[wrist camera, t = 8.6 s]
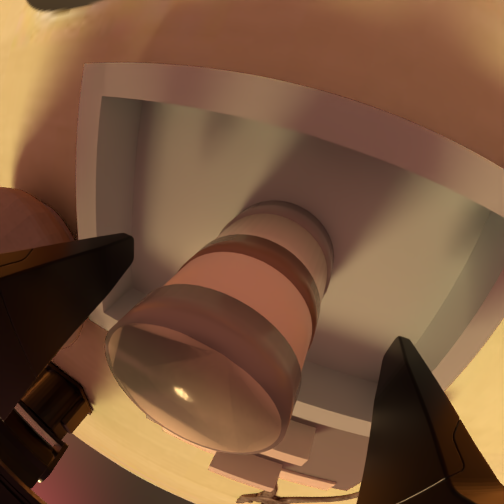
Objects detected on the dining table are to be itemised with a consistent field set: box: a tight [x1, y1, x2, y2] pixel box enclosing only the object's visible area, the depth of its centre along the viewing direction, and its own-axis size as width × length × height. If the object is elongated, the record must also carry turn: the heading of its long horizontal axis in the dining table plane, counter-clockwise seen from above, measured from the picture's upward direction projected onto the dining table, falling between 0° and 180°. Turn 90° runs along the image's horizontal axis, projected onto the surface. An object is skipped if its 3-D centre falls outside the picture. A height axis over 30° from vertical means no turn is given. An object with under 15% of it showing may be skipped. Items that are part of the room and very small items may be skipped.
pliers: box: [236, 486, 359, 504], centre depth 24 cm, size 10×1×20 cm
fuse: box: [105, 200, 334, 455], centre depth 9 cm, size 4×4×7 cm
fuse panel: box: [146, 415, 369, 492], centre depth 16 cm, size 16×9×4 cm, turn 78°
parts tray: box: [76, 62, 504, 437], centre depth 11 cm, size 16×12×3 cm
